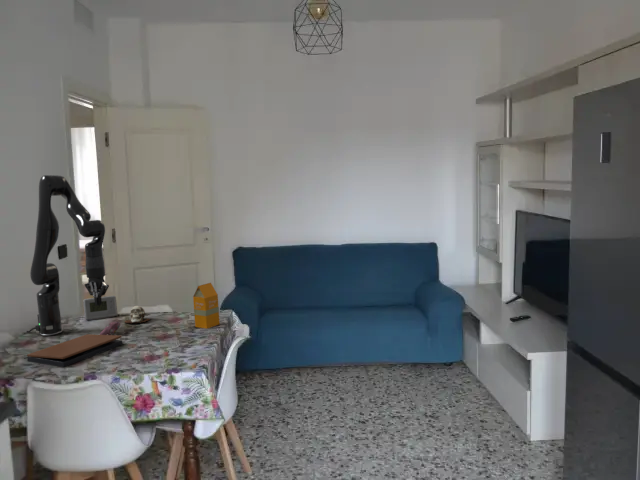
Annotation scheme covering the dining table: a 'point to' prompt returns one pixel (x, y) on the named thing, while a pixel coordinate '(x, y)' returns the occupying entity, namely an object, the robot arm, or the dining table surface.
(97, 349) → the black flat slab
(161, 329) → the dining table surface
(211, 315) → the orange juice
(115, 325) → the video game controller
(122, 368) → the dining table surface
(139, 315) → the skull
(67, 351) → the tablet cover
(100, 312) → the digital clock
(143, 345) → the dining table surface
